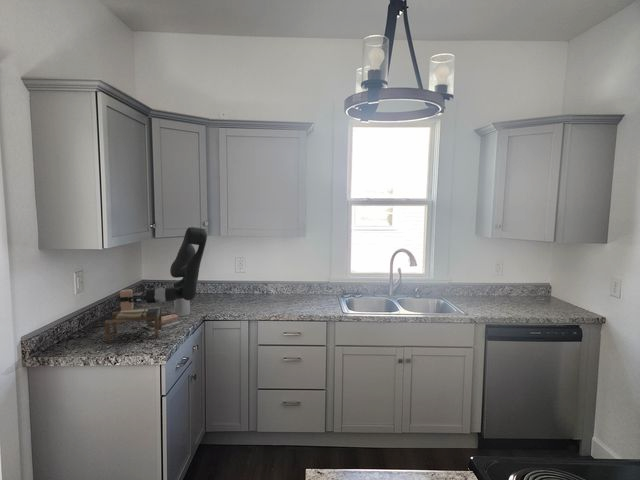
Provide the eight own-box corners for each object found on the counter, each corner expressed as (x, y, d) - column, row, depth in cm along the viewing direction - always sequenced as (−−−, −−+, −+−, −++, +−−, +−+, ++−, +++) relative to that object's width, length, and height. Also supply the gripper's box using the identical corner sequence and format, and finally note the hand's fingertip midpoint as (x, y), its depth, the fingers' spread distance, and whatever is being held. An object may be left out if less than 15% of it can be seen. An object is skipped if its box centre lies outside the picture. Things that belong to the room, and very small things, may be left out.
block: (123, 308, 193) (121, 289, 192) (133, 307, 194) (132, 289, 193) (121, 311, 188) (119, 291, 187) (131, 310, 189) (130, 291, 188)
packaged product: (173, 312, 221) (181, 315, 215) (173, 320, 221) (181, 323, 215) (143, 319, 207) (151, 322, 201) (143, 327, 208) (151, 331, 201)
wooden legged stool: (114, 332, 198) (113, 311, 197) (161, 328, 205) (161, 308, 204) (106, 343, 181) (104, 320, 180) (158, 338, 189) (157, 316, 188)
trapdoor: (121, 316, 196) (121, 308, 196) (160, 313, 202) (159, 306, 202) (116, 324, 184) (115, 315, 183) (157, 320, 189) (156, 312, 189)
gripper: (157, 286, 201) (123, 288, 196) (154, 291, 188) (117, 294, 182) (158, 299, 202) (124, 302, 197) (155, 305, 188) (118, 309, 183)
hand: (121, 298), depth 190 cm, fingers closed on block, 5 cm apart
